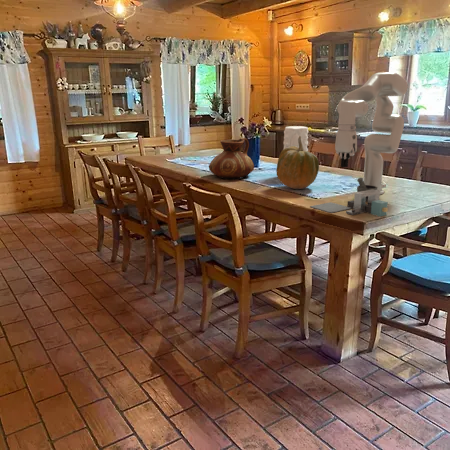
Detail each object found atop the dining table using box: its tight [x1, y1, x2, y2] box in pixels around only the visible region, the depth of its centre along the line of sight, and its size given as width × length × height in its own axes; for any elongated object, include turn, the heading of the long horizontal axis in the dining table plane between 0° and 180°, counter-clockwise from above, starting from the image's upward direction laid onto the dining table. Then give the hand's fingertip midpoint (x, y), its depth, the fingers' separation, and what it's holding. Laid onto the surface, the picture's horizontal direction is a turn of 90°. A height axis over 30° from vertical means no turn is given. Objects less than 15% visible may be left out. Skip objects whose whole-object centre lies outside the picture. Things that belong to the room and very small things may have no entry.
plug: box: [370, 199, 388, 217], centre depth 198 cm, size 4×6×6 cm
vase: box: [282, 125, 310, 152], centre depth 289 cm, size 17×16×32 cm
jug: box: [208, 137, 255, 180], centre depth 291 cm, size 30×30×25 cm
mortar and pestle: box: [356, 177, 377, 203], centre depth 224 cm, size 11×9×12 cm
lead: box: [347, 199, 371, 214], centre depth 208 cm, size 3×16×3 cm, turn 29°
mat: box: [309, 202, 353, 214], centre depth 212 cm, size 14×14×1 cm
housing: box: [345, 189, 381, 216], centre depth 205 cm, size 22×4×9 cm, turn 123°
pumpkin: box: [275, 136, 320, 190], centre depth 252 cm, size 23×26×30 cm
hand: (344, 166), depth 213 cm, fingers closed
